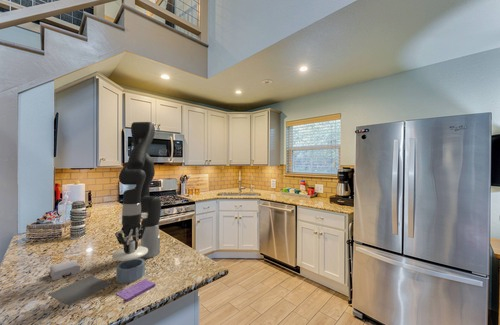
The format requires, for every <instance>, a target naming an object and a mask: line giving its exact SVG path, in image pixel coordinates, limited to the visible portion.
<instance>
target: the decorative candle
mask: <svg viewBox="0 0 500 325" xmlns="http://www.w3.org/2000/svg"><path fill="white" fill-rule="evenodd" d="M69 215H70V216H69V220H70V228H69V229H70V230H69V239H70V240H79V239H78V238H80V239H83V238H85V237H86V236H85V235H86V227H87V226H86V220H87V217H86V216H87V207H86V202H85V201H84V200H77V201H73V202H72V203H71V209H70V211H69ZM84 236H85V237H84ZM82 237H83V238H82Z"/></svg>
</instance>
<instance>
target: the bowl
mask: <svg viewBox="0 0 500 325" xmlns="http://www.w3.org/2000/svg"><path fill="white" fill-rule="evenodd" d="M115 270H116V272H115V276H116V277H115V278H116V279H115V280H116V282H117V283H119V284H130V283H134V282H138V281H139V280H141V279H142V278H143V277H144V276H145V274H146V260H145V258H141V257H140V258H137V259H133V260H128V261H120V262H118V264H117V265H116V269H115Z"/></svg>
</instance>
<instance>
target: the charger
mask: <svg viewBox="0 0 500 325" xmlns="http://www.w3.org/2000/svg"><path fill="white" fill-rule="evenodd" d="M79 273H81V265H80V264H79V263H78V261H77V260H76V259H71V260H68V261H63V262H59V263H56V264H54V265H51V266H50V270H49V274H50V277H51V279H52V281H56V280H59V279H62V278H63V276H64V277H66V276H68V275H71V276H73V275H76V274H79Z"/></svg>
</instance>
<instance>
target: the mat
mask: <svg viewBox="0 0 500 325" xmlns="http://www.w3.org/2000/svg"><path fill="white" fill-rule="evenodd" d="M111 285H112V282H111V283H110V282H108V281H105V280H103V279H100V278H98V277H95V276H92V275H90V276H87V277H85V278H83V279H79V280H78V281H75V282H73V283H70V284H68V285H66V286H64V287H61V288H59V289H57V290H54V291H53V292H50V293H48V294H47V295H48V296H50V297H51V298H54V299H55V300H59V301H60V302H62V303H64V304H66V305H68V306H71V305H73V304H75V303H78V302H79V301H82V300H83V299H85V298H87V297H89V296H91V295H93V294H95V293H97V292H99V291H101V290H103V289H104V288H107V287H109V286H111Z"/></svg>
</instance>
